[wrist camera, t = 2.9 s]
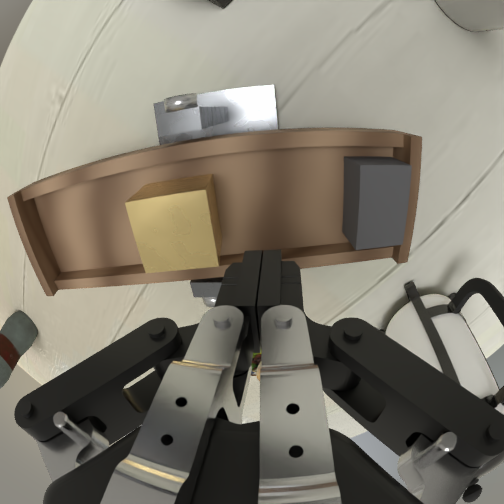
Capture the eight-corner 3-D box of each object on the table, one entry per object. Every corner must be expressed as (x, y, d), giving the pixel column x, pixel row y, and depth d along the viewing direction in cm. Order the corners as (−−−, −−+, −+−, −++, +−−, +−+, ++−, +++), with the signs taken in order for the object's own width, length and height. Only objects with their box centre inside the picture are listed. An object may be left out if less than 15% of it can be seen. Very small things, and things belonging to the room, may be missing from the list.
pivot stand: (274, 86, 23) (269, 71, 13) (285, 248, 32) (285, 313, 22) (159, 103, 24) (98, 108, 15) (187, 251, 33) (153, 311, 24)
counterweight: (390, 156, 18) (411, 165, 15) (385, 227, 21) (402, 244, 18) (343, 156, 18) (360, 165, 15) (342, 231, 21) (355, 250, 18)
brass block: (212, 173, 18) (205, 189, 15) (222, 237, 21) (218, 266, 17) (145, 184, 18) (124, 202, 15) (160, 245, 21) (145, 273, 17)
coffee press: (459, 323, 35) (516, 473, 9) (379, 358, 40) (405, 524, 14) (460, 242, 28) (577, 432, 3) (358, 286, 33) (406, 533, 8)
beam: (394, 130, 18) (421, 136, 15) (386, 239, 23) (407, 262, 20) (33, 182, 18) (7, 197, 15) (64, 273, 23) (46, 296, 20)
